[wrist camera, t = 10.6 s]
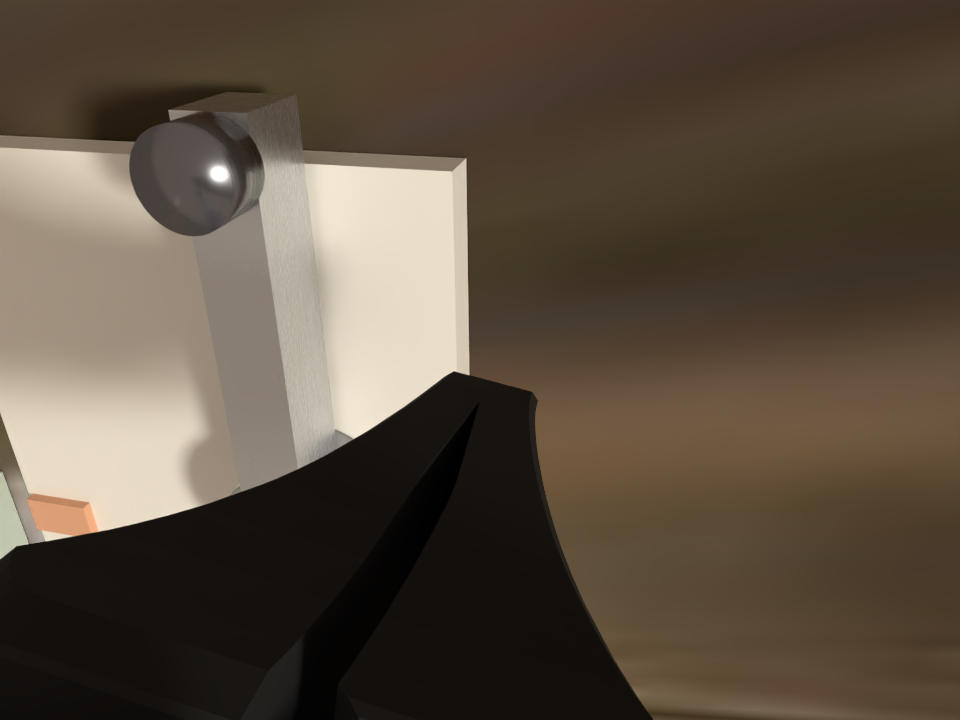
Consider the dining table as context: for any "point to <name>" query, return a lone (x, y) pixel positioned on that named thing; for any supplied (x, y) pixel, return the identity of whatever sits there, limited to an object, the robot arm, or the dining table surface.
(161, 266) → the crank board
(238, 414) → the crank arm
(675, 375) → the dining table surface
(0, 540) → the tray
